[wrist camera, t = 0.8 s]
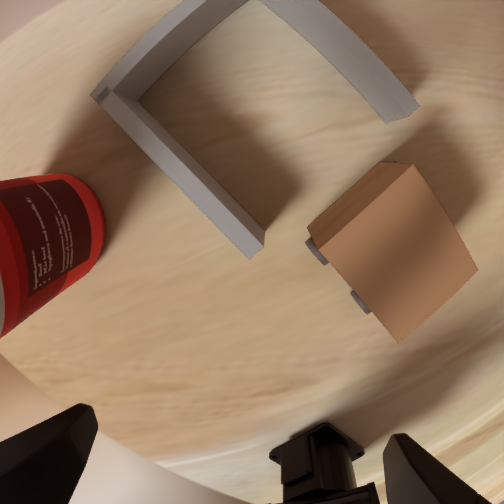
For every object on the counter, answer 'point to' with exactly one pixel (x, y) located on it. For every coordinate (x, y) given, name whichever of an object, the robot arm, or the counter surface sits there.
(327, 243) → the brown toy brick
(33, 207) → the canned food
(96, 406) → the counter surface
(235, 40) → the counter surface
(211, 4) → the dock
